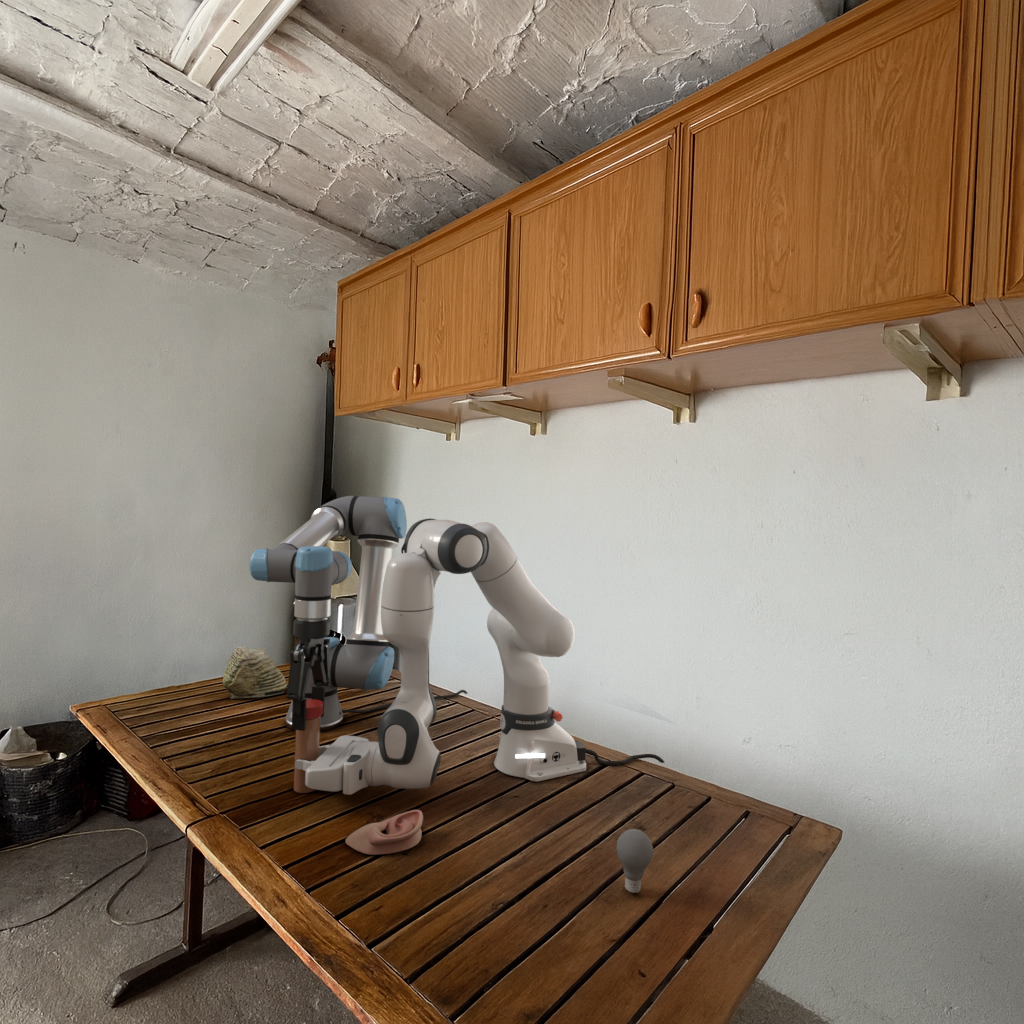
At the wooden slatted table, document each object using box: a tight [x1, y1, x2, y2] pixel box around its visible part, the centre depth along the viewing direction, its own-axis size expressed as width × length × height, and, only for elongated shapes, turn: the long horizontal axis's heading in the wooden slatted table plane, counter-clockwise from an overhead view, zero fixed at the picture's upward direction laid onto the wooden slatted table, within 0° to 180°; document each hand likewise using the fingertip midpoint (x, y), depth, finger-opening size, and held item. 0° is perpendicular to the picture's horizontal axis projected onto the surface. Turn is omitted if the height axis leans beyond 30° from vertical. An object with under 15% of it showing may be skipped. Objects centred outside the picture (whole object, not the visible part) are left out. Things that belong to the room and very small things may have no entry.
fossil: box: [222, 646, 288, 699], centre depth 198 cm, size 9×18×15 cm, turn 132°
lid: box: [306, 699, 323, 719], centre depth 137 cm, size 6×6×2 cm
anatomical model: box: [344, 809, 424, 856], centre depth 118 cm, size 13×4×12 cm
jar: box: [293, 716, 321, 794], centre depth 137 cm, size 5×5×18 cm
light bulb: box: [615, 828, 654, 894], centre depth 106 cm, size 6×6×10 cm
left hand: (308, 722), depth 137 cm, fingers open, 8 cm apart
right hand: (302, 757), depth 137 cm, fingers closed on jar, 5 cm apart
